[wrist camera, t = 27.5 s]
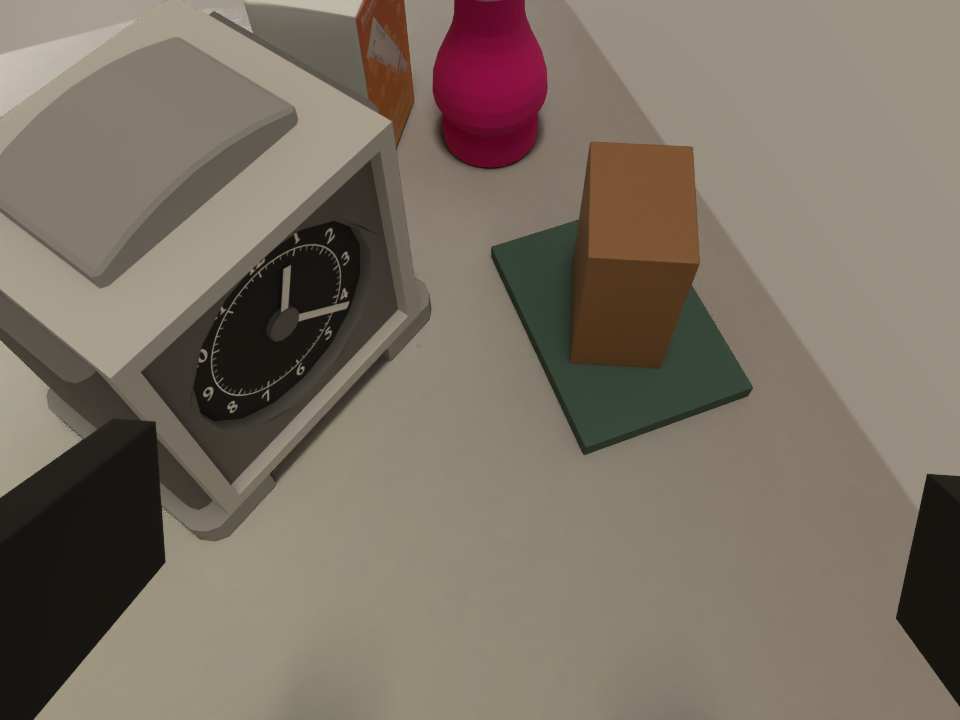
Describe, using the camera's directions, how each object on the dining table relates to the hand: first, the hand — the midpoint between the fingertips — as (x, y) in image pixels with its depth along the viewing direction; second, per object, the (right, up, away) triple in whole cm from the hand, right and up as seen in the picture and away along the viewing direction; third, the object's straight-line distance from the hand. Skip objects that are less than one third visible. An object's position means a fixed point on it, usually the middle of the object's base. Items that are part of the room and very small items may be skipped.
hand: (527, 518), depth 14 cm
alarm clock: (-14, +3, +34) cm, 36 cm away
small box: (-9, +18, +42) cm, 46 cm away
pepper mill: (0, +18, +42) cm, 45 cm away
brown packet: (+7, +5, +33) cm, 34 cm away
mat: (+7, +5, +34) cm, 35 cm away
